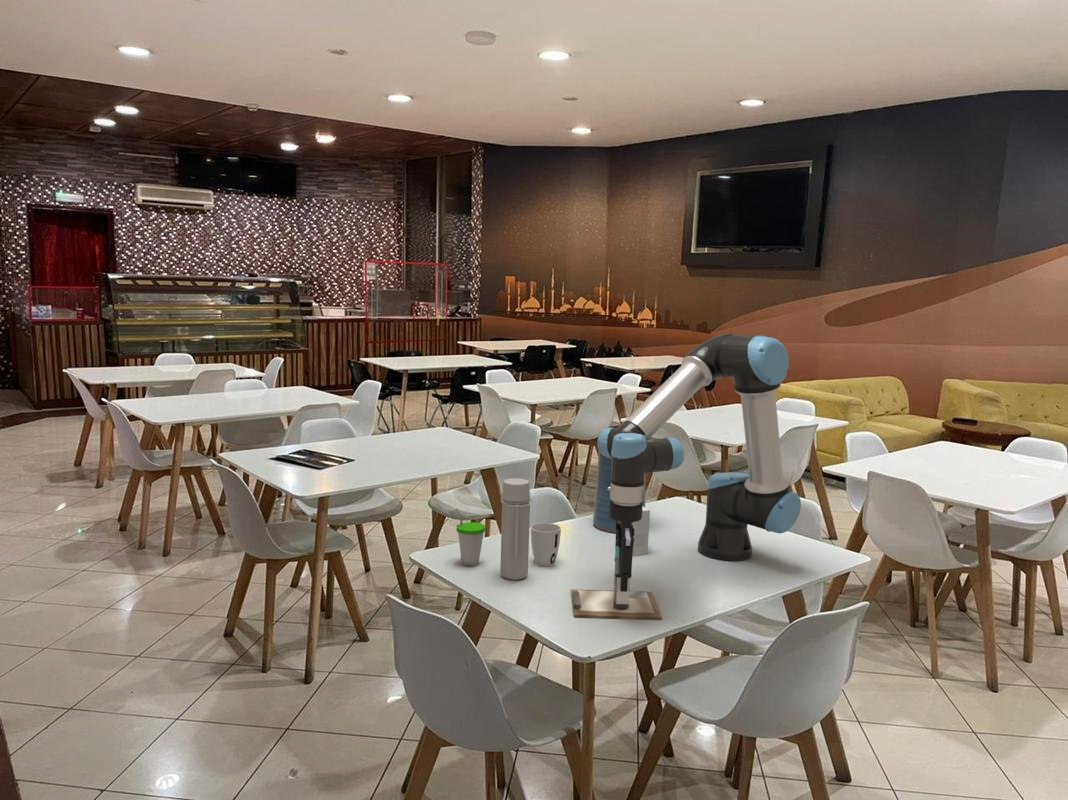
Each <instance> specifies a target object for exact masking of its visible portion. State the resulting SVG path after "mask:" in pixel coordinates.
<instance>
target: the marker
mask: <svg viewBox="0 0 1068 800" xmlns="http://www.w3.org/2000/svg"><path fill="white" fill-rule="evenodd" d="M614 548H615V550H614V559H615V561H614V578H613V579H614V581H613V591H614V595H613V607H614V608H617V609H627V608H628V607H629V603H628V604H617V603H616V598H617V577H616V576H615V574H619V547H618V546H616V547H614ZM630 585H631V582H630V583H629V590H630Z"/></svg>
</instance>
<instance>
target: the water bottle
mask: <svg viewBox="0 0 1068 800" xmlns="http://www.w3.org/2000/svg"><path fill="white" fill-rule="evenodd" d="M501 490H502V491H501V498H500V503H501V533H500V538H501V539H500V568H499V569H500V571H499V572H500V575H501V576H502V578H503V579H507V580H511V581H518V580H522V579H525V578H526V577H527V576H528V574H529V556H530V555H529V552H530V551H529V550H530V524H531V523H530V520H531V518H530V515H531V504H532V502H533V500H532V498H531V489H530V481H529V480H527V479H524V478H517V477H516V478H508V479H507V478H506V479H504V480H503V484H502V489H501Z"/></svg>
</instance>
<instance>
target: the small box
mask: <svg viewBox="0 0 1068 800" xmlns="http://www.w3.org/2000/svg"><path fill="white" fill-rule="evenodd" d="M650 512H651V510H650V509H648V508H647V507H646V506H645V507H643V508H642V519H641V520H639V521H637V522H633V523H632V525H633V528H634V536H633V537H634V544H633V556H632V557H634V556H643V555H648V554H649V535H650V534H649V533H650V515H651V513H650ZM614 544H615V545H616V542H615V543H614Z"/></svg>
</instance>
